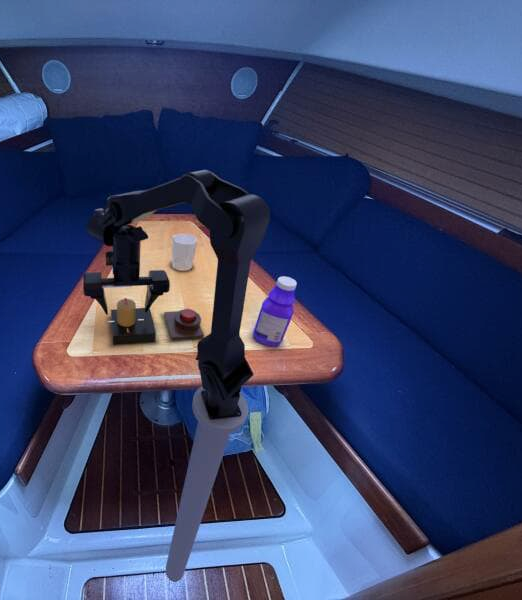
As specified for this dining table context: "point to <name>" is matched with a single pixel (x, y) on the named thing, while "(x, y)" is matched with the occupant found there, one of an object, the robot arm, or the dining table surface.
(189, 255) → the white cup
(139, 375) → the dining table surface
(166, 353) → the dining table surface
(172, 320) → the button block
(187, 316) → the red button
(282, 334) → the bottle
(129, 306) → the lock knob
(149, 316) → the black dial base
